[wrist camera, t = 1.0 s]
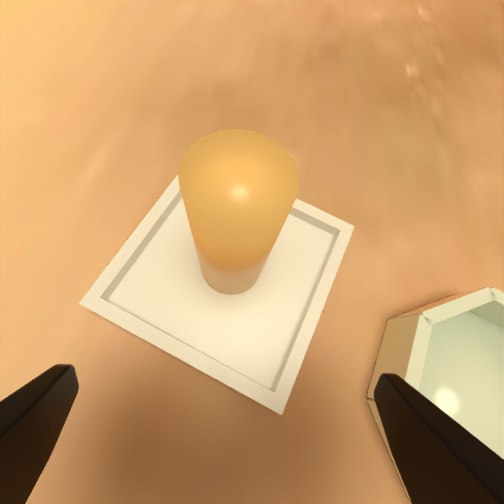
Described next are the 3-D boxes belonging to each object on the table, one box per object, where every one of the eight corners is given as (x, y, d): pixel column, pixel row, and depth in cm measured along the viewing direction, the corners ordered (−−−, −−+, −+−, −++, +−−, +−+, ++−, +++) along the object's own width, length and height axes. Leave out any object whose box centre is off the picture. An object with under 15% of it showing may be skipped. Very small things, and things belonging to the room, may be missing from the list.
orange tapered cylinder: (244, 305, 21) (268, 251, 10) (189, 277, 21) (153, 193, 10) (270, 254, 23) (316, 159, 12) (219, 228, 23) (216, 112, 12)
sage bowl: (570, 590, 17) (665, 655, 14) (347, 466, 18) (378, 494, 15) (570, 355, 23) (637, 356, 19) (400, 273, 24) (432, 258, 21)
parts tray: (276, 409, 19) (281, 415, 17) (91, 307, 20) (78, 303, 19) (344, 235, 25) (354, 226, 23) (198, 164, 26) (196, 150, 24)
